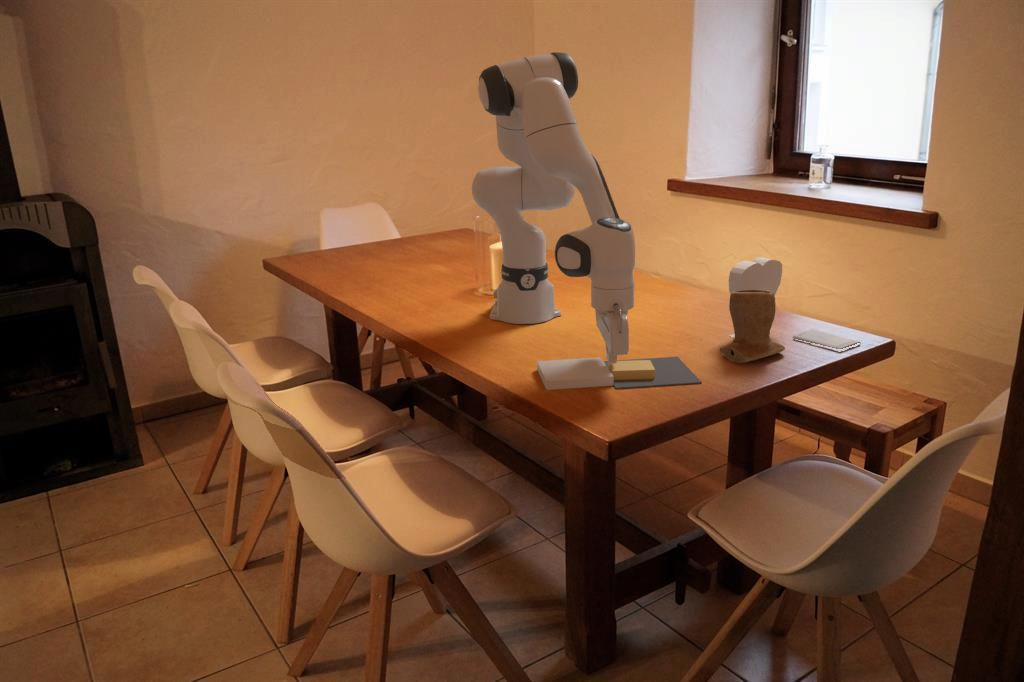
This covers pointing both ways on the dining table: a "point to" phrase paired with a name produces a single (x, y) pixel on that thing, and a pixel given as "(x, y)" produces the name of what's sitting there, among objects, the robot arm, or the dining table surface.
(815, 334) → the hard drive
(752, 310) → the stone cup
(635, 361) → the yellow rectangular block
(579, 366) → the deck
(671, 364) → the mat
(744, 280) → the heart sculpture
